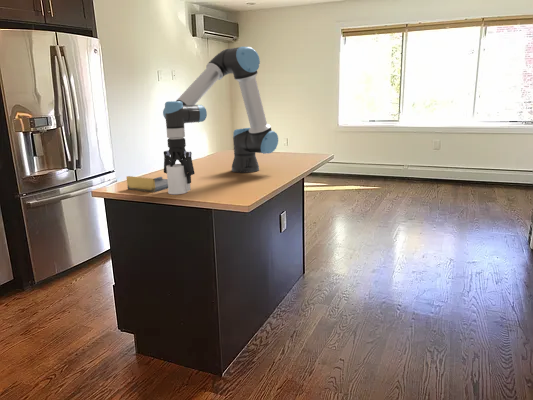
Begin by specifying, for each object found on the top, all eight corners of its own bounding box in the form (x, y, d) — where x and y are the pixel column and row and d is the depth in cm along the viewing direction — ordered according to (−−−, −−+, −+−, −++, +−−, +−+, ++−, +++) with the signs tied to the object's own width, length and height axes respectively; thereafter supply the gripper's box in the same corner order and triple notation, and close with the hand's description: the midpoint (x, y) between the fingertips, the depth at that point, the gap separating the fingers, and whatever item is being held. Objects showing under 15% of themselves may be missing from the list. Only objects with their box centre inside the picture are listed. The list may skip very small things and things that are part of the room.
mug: (179, 188, 197) (177, 162, 195) (195, 189, 194) (193, 162, 191) (164, 193, 187) (161, 166, 184) (180, 195, 184) (178, 167, 181)
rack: (186, 182, 209) (185, 170, 207) (153, 192, 190) (152, 179, 189) (161, 180, 217) (160, 168, 215) (127, 189, 198) (126, 176, 197)
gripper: (201, 137, 183) (204, 190, 188) (163, 136, 193) (168, 186, 198) (189, 139, 177) (193, 193, 182) (151, 138, 187) (156, 189, 192)
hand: (180, 189), depth 190 cm, fingers closed on mug, 8 cm apart
